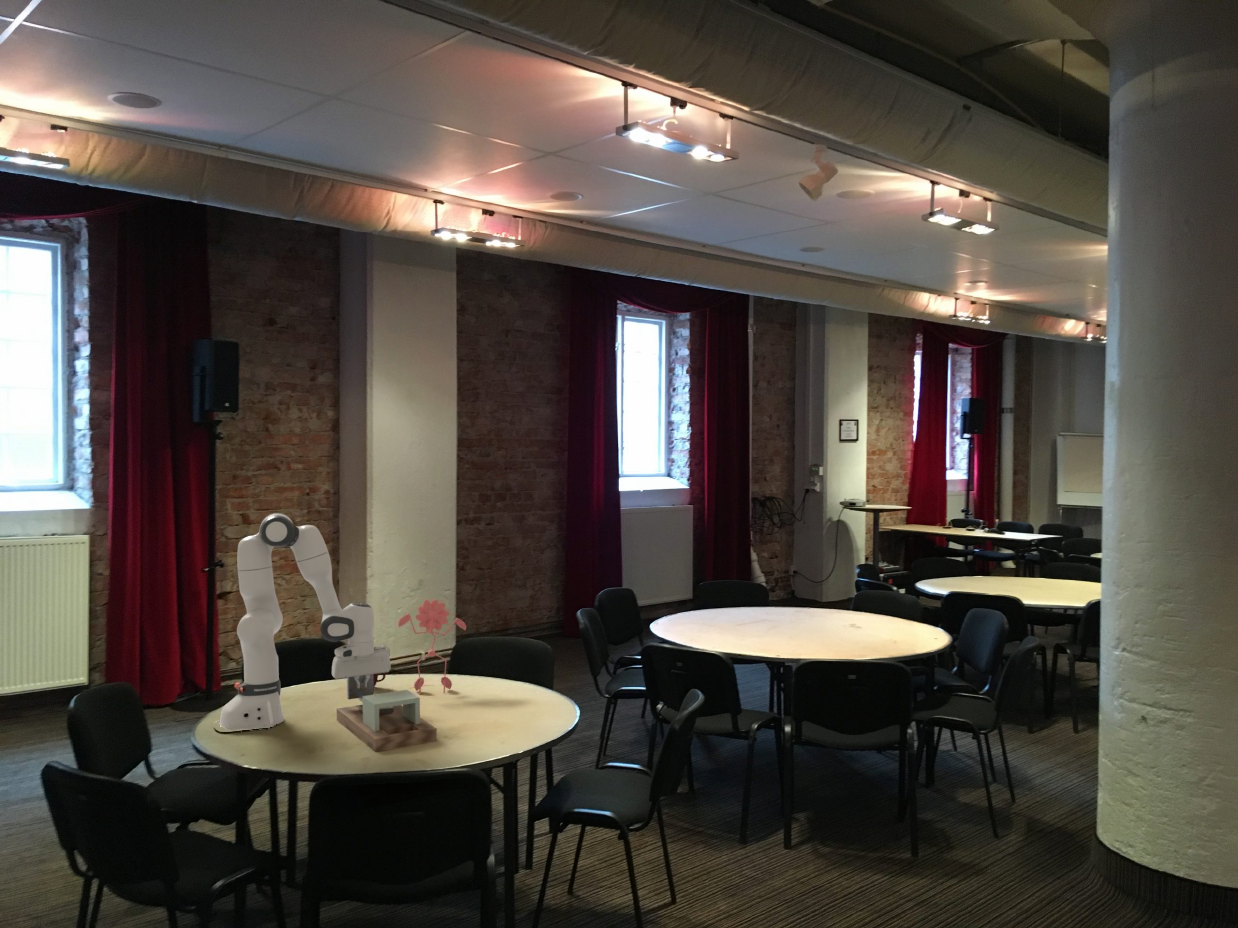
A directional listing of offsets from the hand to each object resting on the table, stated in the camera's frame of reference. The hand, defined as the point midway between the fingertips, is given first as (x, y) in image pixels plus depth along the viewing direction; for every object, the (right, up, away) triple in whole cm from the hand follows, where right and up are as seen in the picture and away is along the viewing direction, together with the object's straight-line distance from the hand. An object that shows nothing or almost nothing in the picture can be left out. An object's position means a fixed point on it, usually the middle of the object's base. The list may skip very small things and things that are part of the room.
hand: (361, 687), depth 340 cm
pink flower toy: (+19, -8, +32) cm, 38 cm away
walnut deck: (+13, -9, -20) cm, 26 cm away
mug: (-6, -9, +35) cm, 37 cm away
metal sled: (+5, -5, -7) cm, 10 cm away
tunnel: (+16, -6, -26) cm, 31 cm away
